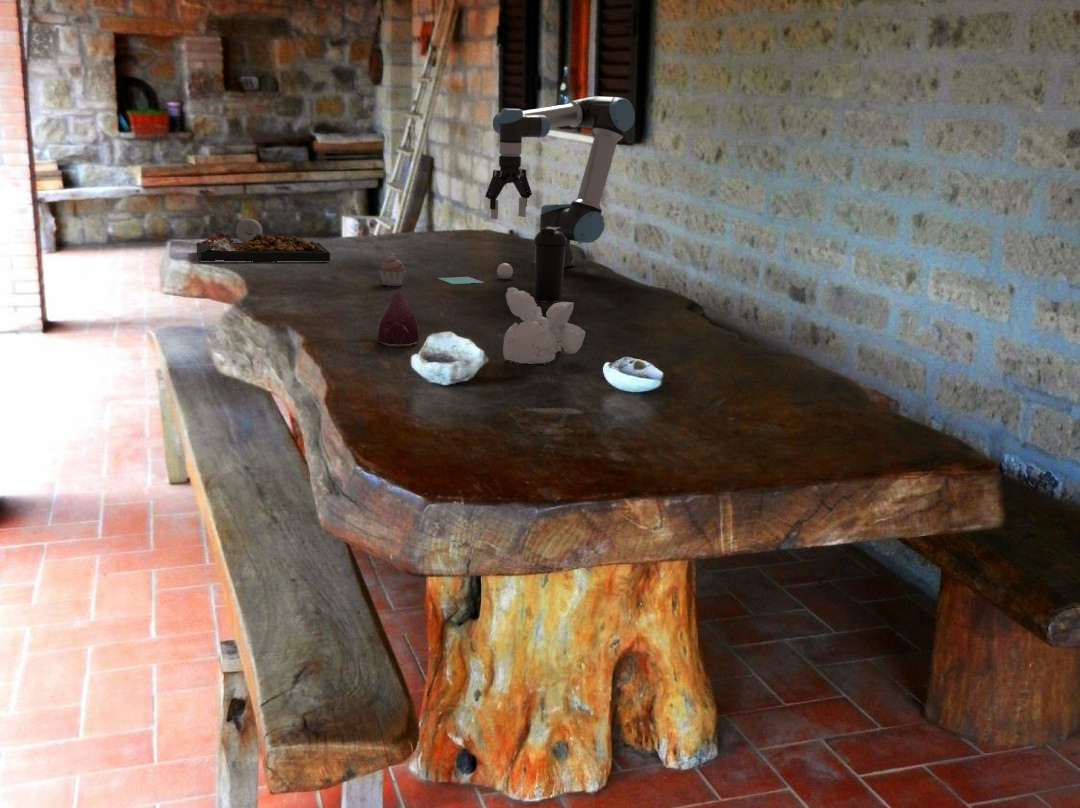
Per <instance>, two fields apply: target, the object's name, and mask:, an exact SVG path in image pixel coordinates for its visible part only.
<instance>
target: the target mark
mask: <svg viewBox="0 0 1080 808" xmlns="http://www.w3.org/2000/svg"><path fill="white" fill-rule="evenodd" d="M436 279H437V280H439V281H442V282H445V283H447V284H450V285H453V286H454V285H470V284H471V283H476V284H485V282H484V281H481V280H479V279H476V278H473V277H470V276H459V277H456V276H455V277H452V276H451V277H437V278H436Z"/></svg>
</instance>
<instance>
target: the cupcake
mask: <svg viewBox="0 0 1080 808" xmlns="http://www.w3.org/2000/svg"><path fill="white" fill-rule="evenodd" d="M380 265H381V266H380V269H378V274H379V276H380V279H381V284H382V285H383V284H384V285H389V286H397V287H401V286H402V285H403V281H404V277H405V276H406V273H407V270H405V265H404V264H403V262H402V261H401V260H400V259H397V258H396V257H395V255H394V254H392V255H389V256H388V257H387V258H385V260H384V261H383V262H382V263H381V264H380ZM384 285H383V286H384ZM400 285H401V286H400ZM389 286H388V287H389Z"/></svg>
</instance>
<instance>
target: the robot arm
mask: <svg viewBox="0 0 1080 808" xmlns="http://www.w3.org/2000/svg"><path fill="white" fill-rule="evenodd" d="M635 114H636V113H635V109H634V108H633V104H632V102H630V100H629V99H627V98H625V97H618V96H599V95H595V96H594V95H593V96H588V97H583V98H579V99H575V100H570V101H567V103H565V104H560V105H555V106H554V105H553V106H547V107H540V108H535V109H534V108H533V109H527V110H522V109H520V108H502V109H501V111H500V112H498V113H496V114H495V115H494V117H493V119H492V128H493V130H494V132H495V133H496V134H498V135H499V157H498V166H499V167H500V169H497V170H496V169H493V171H492V177H491V180H490V182H489V185H488V187H487V190H486V193H485V198H487V199H488V200H489V209H490V219H492V220H498V218H499V199H498V197H499V196H500V194H501V192H502V190H503V189H504V187H505V186H506V185H507V184H513V185H514V187H515V189H516V190H517V192H518V193H519V195H520V197H518V217H521V218H522V217H523V218H526V213H527V206H528V199H530V197H531V196H532V195H533V193H532V190H531V187H530V184H529V180H528V177H527V170H526V169H525V168H521V166H522V157H521V156H522V141H523V140H522V139H523V138H538V139H539V138H544V137H546V136H548V135H549V133H550V130H551V129H555V128H560V127H567V126H569V127H571V128H581V127H582V128H589V129H592V132H593V135H594V137H593V141H592V145H591V148H590V151H589V155H588V158H587V163H586V165H585V168H584V169H585V170H584V171H583V175H582V180H581V182H580V186H579V191H578V193H577V197H576V199H573V200H572V201H571V203H554V204H544V205H542V207H541V209H540V214H539V232H541V231H542V228H547V227H560V228H561V229H558V231H560V232H562V233H563V234H564V235H565V237H566V238H567V245H566V247H565V259H564V266H565V265H570V264H573V263H574V262H575V260H574V256H573V252H572V248H571V241H574V242H577V243H581V244H591V243H594V242H596V241H597V240H598V239H599V238H601V236H602V234H603V232H604V230H605V229H604V228H605V221H604V220H605V219H604V216H603V215H602V211H603V209H602V207H601V201H602V197H603V194H604V190H605V186H606V183H607V181H608V180H607V179H608V175H609V172H610V169H611V165H612V162H613V159H614V155H615V151H616V147H617V145H618V144H617V143H618V142H619V141H620V140H621V141H622V139H623V138H624V134H625V132H628V131H629V130H631V128H632V127H633V126H634V124H635V119H636V118H635V117H636V115H635ZM520 155H521V156H520ZM534 263H535V256H534V258H533V264H534ZM573 265H574V264H573Z"/></svg>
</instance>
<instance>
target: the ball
mask: <svg viewBox="0 0 1080 808" xmlns="http://www.w3.org/2000/svg"><path fill="white" fill-rule="evenodd" d="M513 273H514V270H513V267H512V266H511V264H509V263H507V262H503V263H501V264H499V265H498V267H497V269H496V274H497V276H498V277H499V278H500V279H503V280H507V279H510V278H511V277H512V275H513Z"/></svg>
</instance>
